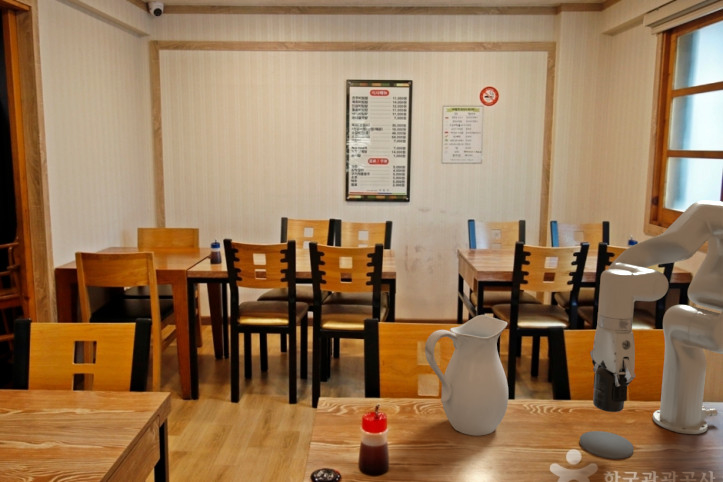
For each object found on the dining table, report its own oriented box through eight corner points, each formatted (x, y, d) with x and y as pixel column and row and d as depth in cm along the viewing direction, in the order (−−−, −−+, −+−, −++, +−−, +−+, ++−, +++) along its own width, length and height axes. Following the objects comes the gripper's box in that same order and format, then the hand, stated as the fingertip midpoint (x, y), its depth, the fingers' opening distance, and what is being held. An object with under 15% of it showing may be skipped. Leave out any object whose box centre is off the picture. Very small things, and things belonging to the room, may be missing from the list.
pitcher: (479, 407, 163) (482, 310, 158) (521, 432, 148) (525, 327, 143) (406, 424, 152) (407, 321, 148) (442, 454, 137) (445, 340, 133)
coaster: (613, 432, 148) (613, 429, 148) (644, 456, 136) (644, 452, 136) (570, 436, 146) (570, 433, 146) (598, 461, 134) (598, 458, 134)
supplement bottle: (626, 414, 136) (630, 365, 134) (595, 411, 137) (599, 362, 135) (620, 402, 142) (623, 355, 140) (590, 399, 144) (593, 352, 142)
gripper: (654, 332, 129) (647, 409, 131) (606, 311, 146) (601, 379, 148) (623, 334, 127) (617, 411, 130) (579, 313, 144) (575, 381, 147)
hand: (609, 394), depth 139 cm, fingers closed on supplement bottle, 6 cm apart
